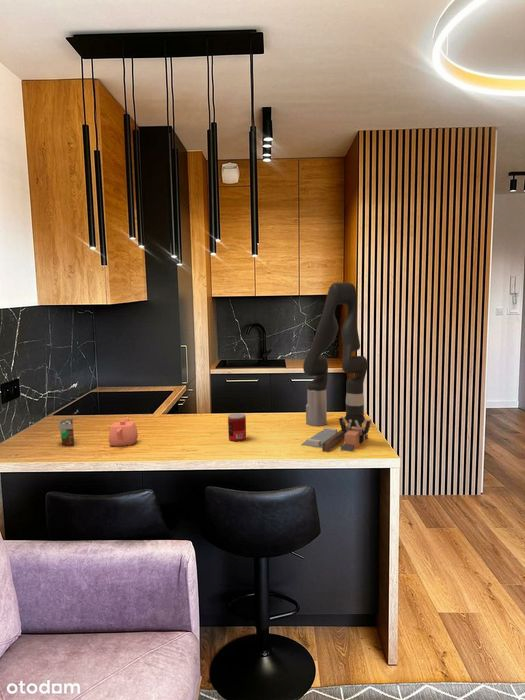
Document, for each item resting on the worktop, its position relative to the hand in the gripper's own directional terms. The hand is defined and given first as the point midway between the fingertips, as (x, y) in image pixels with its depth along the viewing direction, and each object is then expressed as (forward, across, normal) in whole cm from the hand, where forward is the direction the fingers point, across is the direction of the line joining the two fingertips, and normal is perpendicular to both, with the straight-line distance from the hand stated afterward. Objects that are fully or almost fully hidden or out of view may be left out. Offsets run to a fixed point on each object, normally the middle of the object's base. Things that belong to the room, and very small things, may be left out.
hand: (354, 442), depth 218 cm
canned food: (+1, +49, +16) cm, 52 cm away
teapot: (+1, +92, +42) cm, 101 cm away
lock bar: (+1, 0, 0) cm, 1 cm away
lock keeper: (+1, +15, 0) cm, 15 cm away
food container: (+1, +115, +54) cm, 127 cm away
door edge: (+1, +8, 0) cm, 8 cm away
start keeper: (+1, 0, 0) cm, 1 cm away
